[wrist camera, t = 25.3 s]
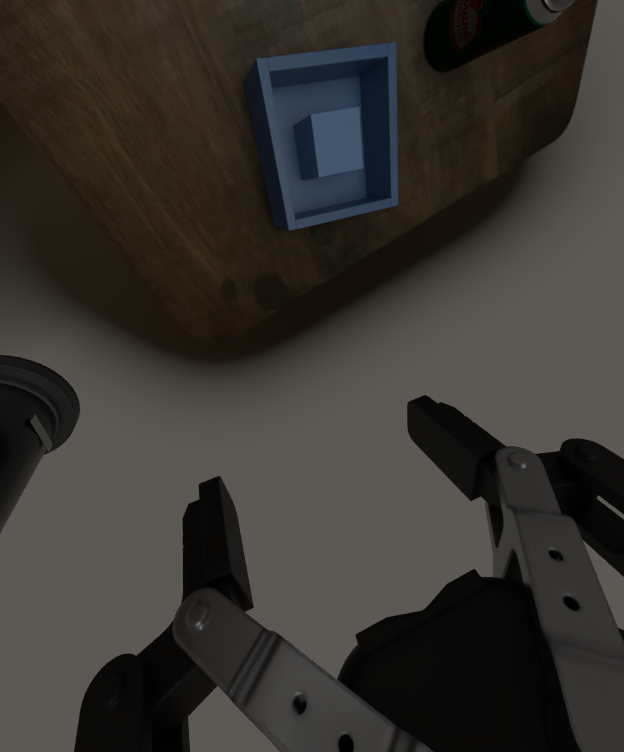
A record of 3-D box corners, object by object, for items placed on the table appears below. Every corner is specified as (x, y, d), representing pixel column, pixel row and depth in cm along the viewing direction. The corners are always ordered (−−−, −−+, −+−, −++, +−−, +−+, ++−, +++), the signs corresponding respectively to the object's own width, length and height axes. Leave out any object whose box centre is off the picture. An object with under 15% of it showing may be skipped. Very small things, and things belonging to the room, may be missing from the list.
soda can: (429, -5, 29) (556, -110, 19) (472, 6, 30) (611, -86, 20) (418, 69, 31) (526, 11, 21) (459, 76, 33) (577, 25, 23)
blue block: (301, 180, 32) (319, 177, 27) (292, 125, 29) (310, 114, 25) (340, 172, 32) (363, 168, 28) (335, 118, 30) (359, 106, 26)
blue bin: (274, 226, 33) (289, 231, 29) (243, 82, 27) (256, 58, 22) (370, 204, 36) (398, 205, 31) (362, 66, 29) (396, 41, 25)
